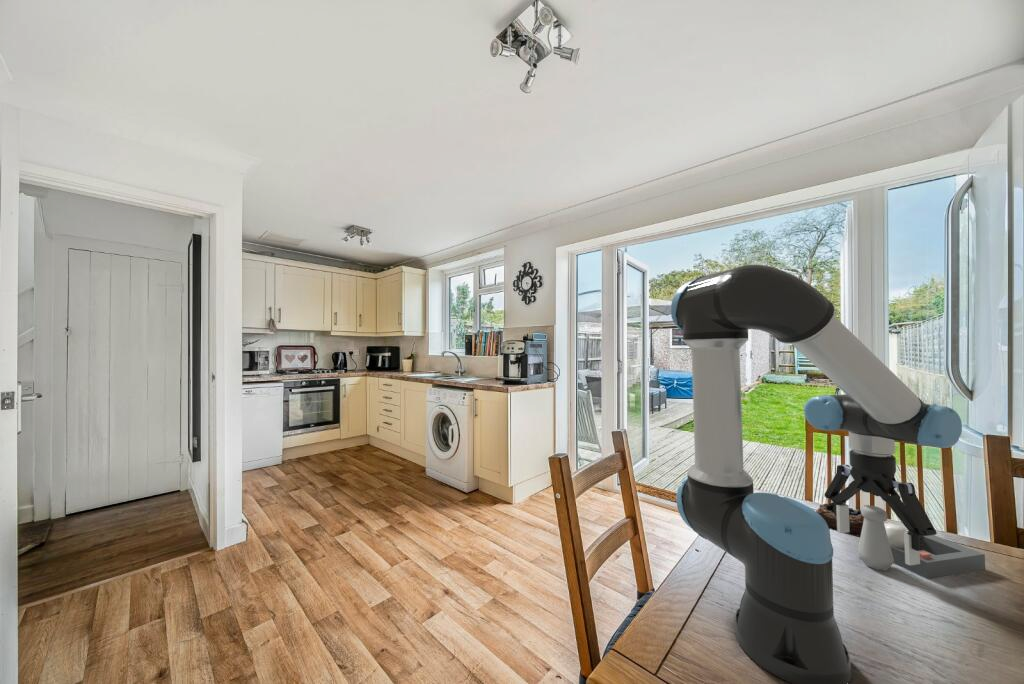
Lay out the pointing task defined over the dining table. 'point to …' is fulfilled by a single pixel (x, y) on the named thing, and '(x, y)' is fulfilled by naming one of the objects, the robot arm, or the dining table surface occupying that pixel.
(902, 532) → the grey rimmed tray
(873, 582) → the dining table surface
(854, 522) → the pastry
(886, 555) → the salt shaker
